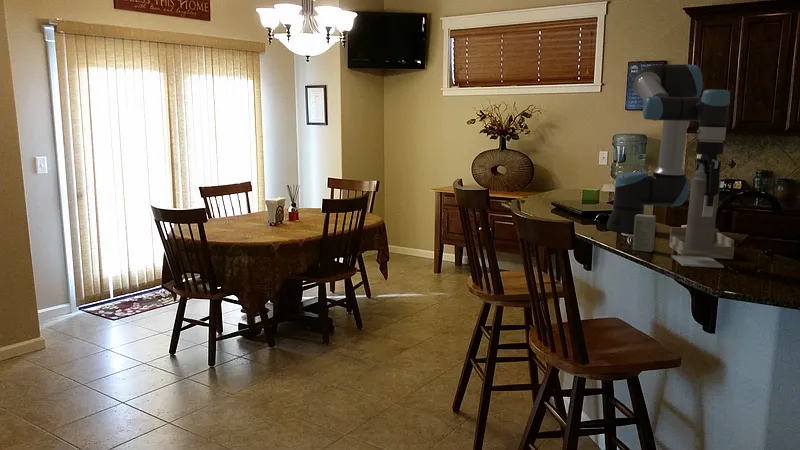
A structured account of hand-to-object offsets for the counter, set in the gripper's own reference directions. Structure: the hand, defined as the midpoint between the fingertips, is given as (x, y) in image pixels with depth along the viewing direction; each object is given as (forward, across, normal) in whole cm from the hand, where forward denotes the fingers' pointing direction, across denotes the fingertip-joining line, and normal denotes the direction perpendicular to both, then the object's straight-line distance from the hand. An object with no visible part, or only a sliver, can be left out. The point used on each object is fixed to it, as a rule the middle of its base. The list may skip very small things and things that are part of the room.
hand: (702, 214), depth 189 cm
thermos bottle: (+11, 0, 0) cm, 11 cm away
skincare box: (+16, -14, -13) cm, 25 cm away
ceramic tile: (+16, 0, 0) cm, 16 cm away
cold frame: (+16, -15, +6) cm, 22 cm away
